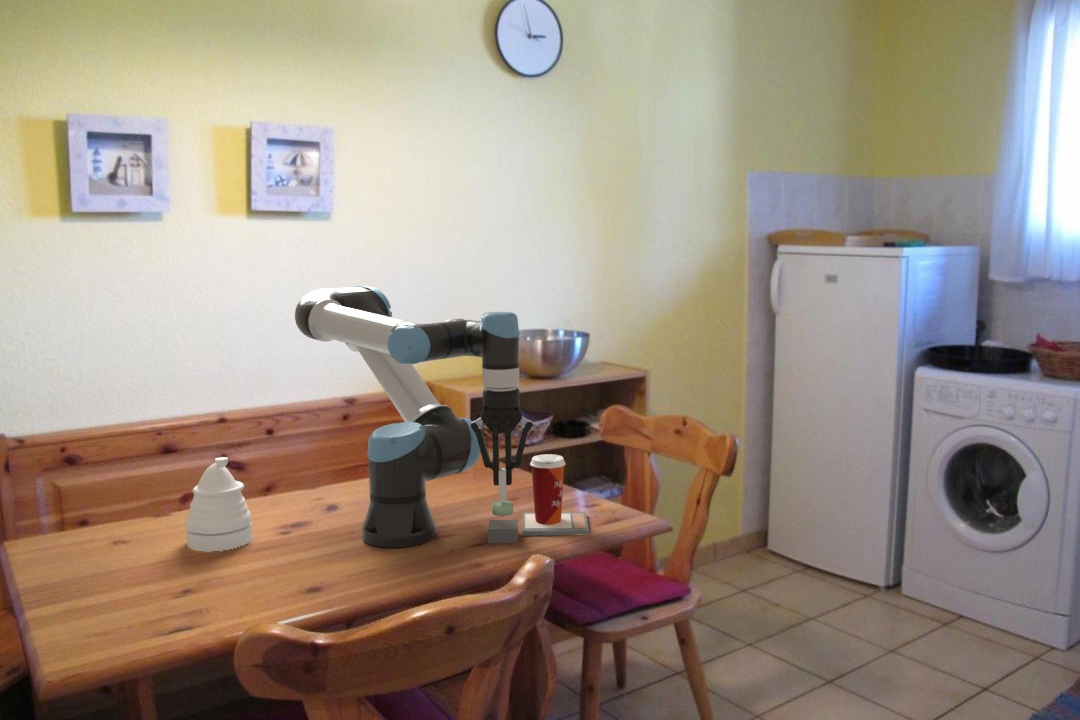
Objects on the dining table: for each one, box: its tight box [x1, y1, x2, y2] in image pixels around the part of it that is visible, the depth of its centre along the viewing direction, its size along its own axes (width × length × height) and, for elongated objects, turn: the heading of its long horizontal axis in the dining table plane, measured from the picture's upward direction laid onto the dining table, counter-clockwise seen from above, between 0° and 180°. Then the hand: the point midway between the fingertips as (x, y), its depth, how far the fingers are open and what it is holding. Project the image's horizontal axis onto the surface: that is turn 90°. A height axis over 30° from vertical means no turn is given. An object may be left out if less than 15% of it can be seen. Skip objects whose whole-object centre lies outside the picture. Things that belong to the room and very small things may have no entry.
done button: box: [491, 500, 514, 517], centre depth 188 cm, size 4×4×2 cm
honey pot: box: [185, 456, 253, 553], centre depth 187 cm, size 13×13×18 cm
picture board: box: [521, 511, 590, 537], centre depth 196 cm, size 14×13×1 cm
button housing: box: [487, 519, 519, 544], centre depth 188 cm, size 6×6×3 cm
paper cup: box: [529, 453, 567, 525], centre depth 196 cm, size 8×8×14 cm
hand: (503, 500), depth 187 cm, fingers closed
